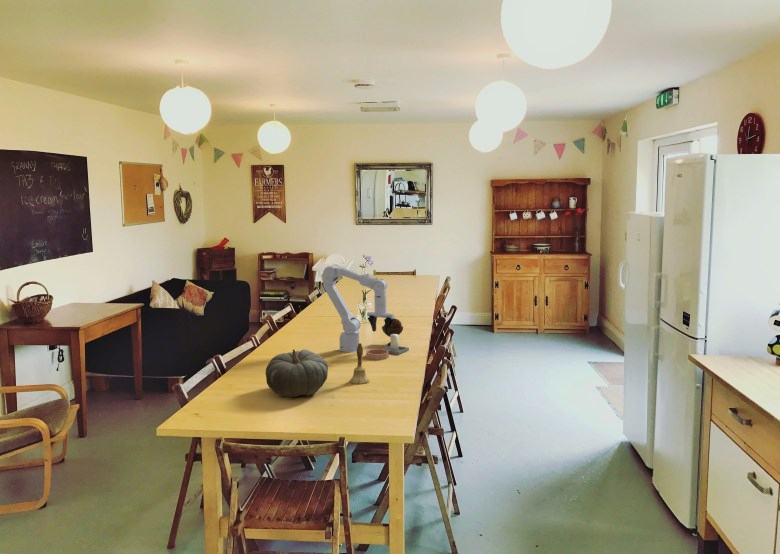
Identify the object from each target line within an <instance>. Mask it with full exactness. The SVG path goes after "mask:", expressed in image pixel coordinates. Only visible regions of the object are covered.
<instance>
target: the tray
mask: <svg viewBox="0 0 780 554" xmlns="http://www.w3.org/2000/svg"><path fill="white" fill-rule="evenodd" d="M382 349H384V350H388V351H389V355H394V356H400V355H402V354H404V353H407V352H408V351H409V352H410V350H409V349H410V348H409V347H407V346H400V345H399V351H398V352H397V351H391V345H390V346H388V345H387V346H386V347H383V348H382Z"/></svg>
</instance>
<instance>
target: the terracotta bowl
mask: <svg viewBox="0 0 780 554" xmlns="http://www.w3.org/2000/svg"><path fill="white" fill-rule="evenodd" d="M389 355H390V354H389V351H388V350H384V349H383V348H373V349H368V350H366V351H365V358H366V359H368V360H372V361H381V360H387V359H389V357H390V356H389Z"/></svg>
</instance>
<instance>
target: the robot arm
mask: <svg viewBox="0 0 780 554" xmlns="http://www.w3.org/2000/svg"><path fill="white" fill-rule="evenodd" d="M321 275H322V280H323V282H322V283H323V284H322V285H323V289H324V290H325V292H326V294H327V296H328V297H329V299H330V301H331V302H332V303H331V304H333V306H334V308H335V310H336V311H337V313H338V314H339V317H340V318H341V319H340V320H341V321H340V322H341V325H342V330H343V331H344V332H341V333H340V336H339V349H338V351H339V352H348V353H353V354H356V353H357V347H358V344H359V343H360V331H359V329H360V328H361V321H360V320H359V319H358V318H357V317H356V316H355V315H354V314H353V313H351V311H350V309H349V307H348V306H347V303H346V302H345V300H344V299H343V297H342V295H341V294H340V292H339V290H338V288H337V287H336V284H337V280H338V279H339V277H345V278H349V279H351V280H354V281H357V282H358V283H359V285H361V286H363V287H365V288H368V289H371V290H373V292H374V296H373V297H374V311H369V312H366V316H367V320H368V322H369V323H370V324H369V325H370V326H371V331H372V332H376V331H377V321H378V318H381V319H382V318H383V319H384V320H383V322H384V324H385V326H386V333H389V331H390V327H391V324H392V322H393V320H394V318H395V314H393V313H388V312H387V290H386V289H387V288H388V283H387V281H386V280H384V279H383V278H379V277H374V276H371V275H370V273H363V274H360V273H358V272H355V271H354V270H351V269H348V268H346V267H345V266H341V265H338V264H333V265H330V266H329V265H328V266H326V267H324V269H323V271H322V273H321ZM386 318H387V319H386Z"/></svg>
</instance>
